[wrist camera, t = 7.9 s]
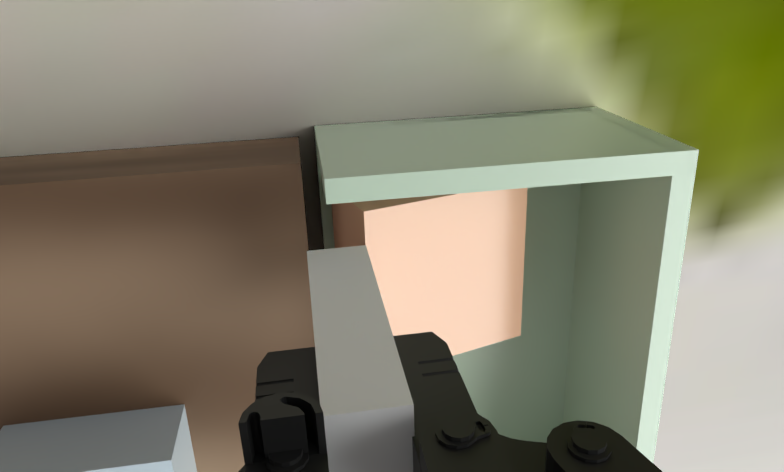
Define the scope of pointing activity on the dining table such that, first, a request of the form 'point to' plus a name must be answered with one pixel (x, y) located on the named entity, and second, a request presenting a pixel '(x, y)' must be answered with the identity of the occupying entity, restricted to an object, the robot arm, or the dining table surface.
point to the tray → (550, 252)
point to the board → (151, 283)
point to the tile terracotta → (444, 262)
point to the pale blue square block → (101, 443)
